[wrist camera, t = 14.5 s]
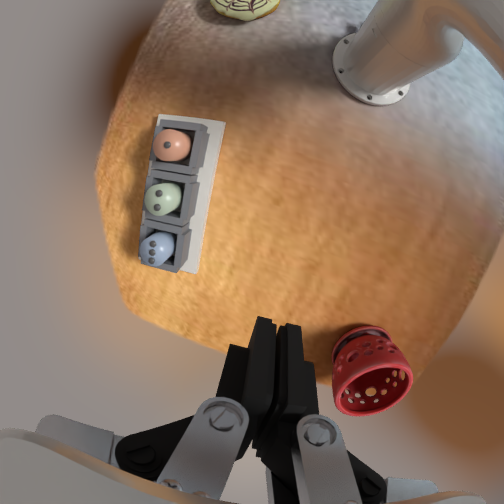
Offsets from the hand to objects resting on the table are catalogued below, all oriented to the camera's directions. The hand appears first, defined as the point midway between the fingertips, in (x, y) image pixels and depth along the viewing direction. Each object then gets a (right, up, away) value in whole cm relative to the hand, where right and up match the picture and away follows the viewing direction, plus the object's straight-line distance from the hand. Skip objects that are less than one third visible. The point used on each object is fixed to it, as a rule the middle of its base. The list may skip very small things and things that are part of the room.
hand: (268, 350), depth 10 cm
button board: (-12, +13, +29) cm, 34 cm away
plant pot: (+19, -14, +36) cm, 43 cm away
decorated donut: (-1, +43, +19) cm, 47 cm away
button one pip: (-10, +18, +25) cm, 32 cm away
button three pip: (-13, +5, +29) cm, 33 cm away
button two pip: (-12, +12, +27) cm, 32 cm away
